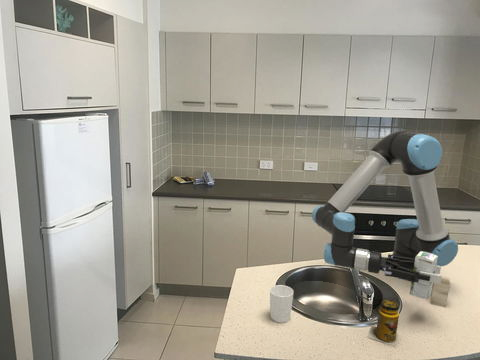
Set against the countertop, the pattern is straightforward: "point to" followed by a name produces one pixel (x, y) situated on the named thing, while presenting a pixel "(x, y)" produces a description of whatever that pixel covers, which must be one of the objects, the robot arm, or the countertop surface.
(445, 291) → the beige block
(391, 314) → the condiment
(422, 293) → the syrup box
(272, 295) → the white cup
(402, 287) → the countertop surface
